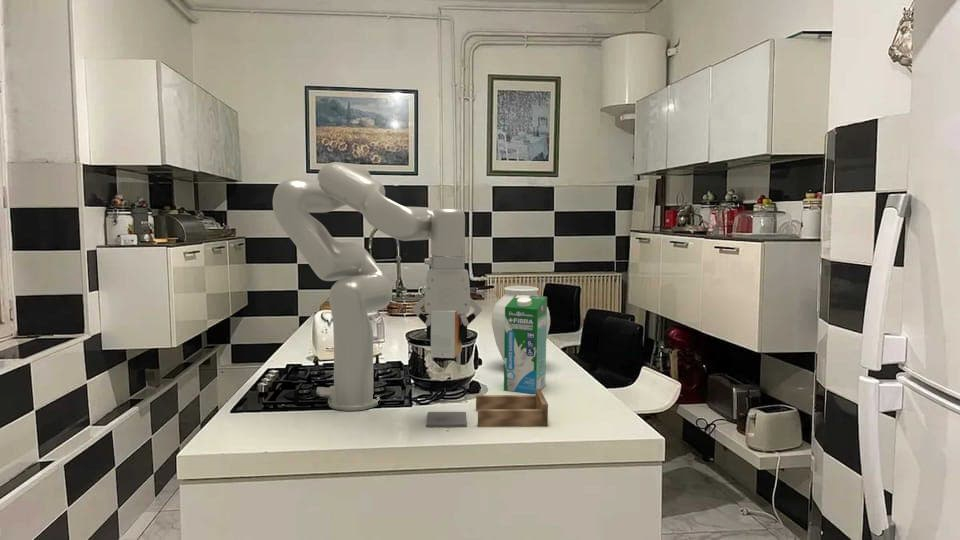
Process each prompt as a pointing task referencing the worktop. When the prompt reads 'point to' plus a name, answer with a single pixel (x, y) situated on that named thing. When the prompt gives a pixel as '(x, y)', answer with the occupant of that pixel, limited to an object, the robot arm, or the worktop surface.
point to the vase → (499, 313)
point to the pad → (446, 419)
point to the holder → (512, 410)
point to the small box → (445, 334)
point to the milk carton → (525, 344)
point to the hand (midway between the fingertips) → (446, 341)
